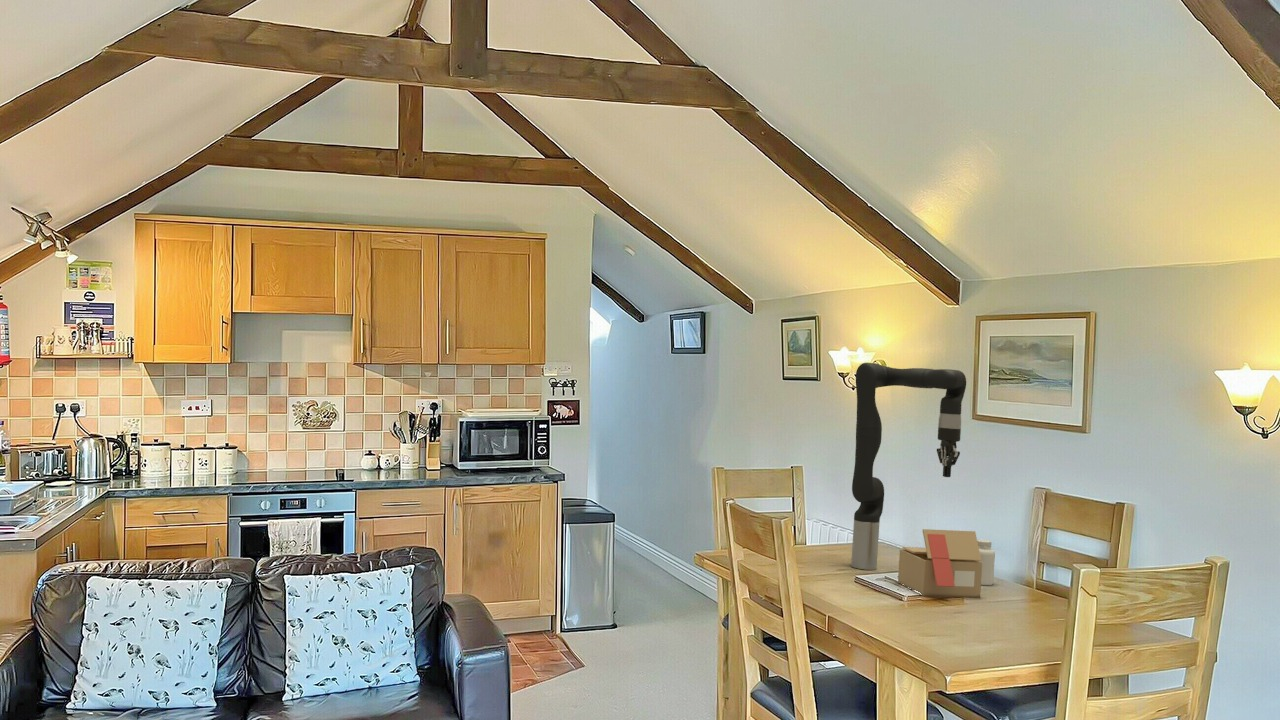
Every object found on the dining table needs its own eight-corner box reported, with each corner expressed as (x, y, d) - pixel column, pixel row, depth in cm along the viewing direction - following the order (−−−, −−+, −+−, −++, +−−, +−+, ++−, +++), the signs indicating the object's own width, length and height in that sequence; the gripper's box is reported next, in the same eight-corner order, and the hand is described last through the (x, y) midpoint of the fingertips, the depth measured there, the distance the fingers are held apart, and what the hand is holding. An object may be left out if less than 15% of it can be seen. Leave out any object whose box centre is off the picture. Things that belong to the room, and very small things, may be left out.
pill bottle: (968, 583, 339) (971, 540, 340) (969, 579, 347) (972, 537, 347) (992, 586, 336) (995, 543, 337) (993, 582, 344) (996, 540, 344)
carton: (897, 582, 332) (900, 546, 332) (952, 584, 335) (954, 548, 336) (923, 595, 313) (925, 557, 314) (980, 597, 317) (982, 559, 317)
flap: (922, 529, 319) (923, 528, 318) (974, 532, 322) (975, 531, 321) (932, 586, 309) (933, 585, 308) (986, 588, 312) (987, 587, 311)
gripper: (969, 428, 331) (966, 479, 330) (950, 426, 344) (947, 475, 343) (948, 427, 329) (945, 478, 329) (930, 425, 343) (927, 474, 342)
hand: (946, 476), depth 336 cm, fingers closed
